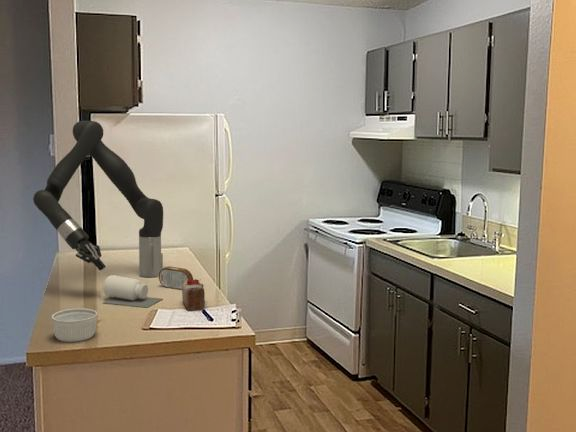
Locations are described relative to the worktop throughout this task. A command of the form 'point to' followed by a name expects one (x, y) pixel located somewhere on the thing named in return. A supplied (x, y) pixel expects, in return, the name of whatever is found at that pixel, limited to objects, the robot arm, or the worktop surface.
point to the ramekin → (74, 324)
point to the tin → (174, 277)
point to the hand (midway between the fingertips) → (102, 268)
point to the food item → (193, 295)
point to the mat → (134, 302)
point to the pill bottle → (125, 288)
